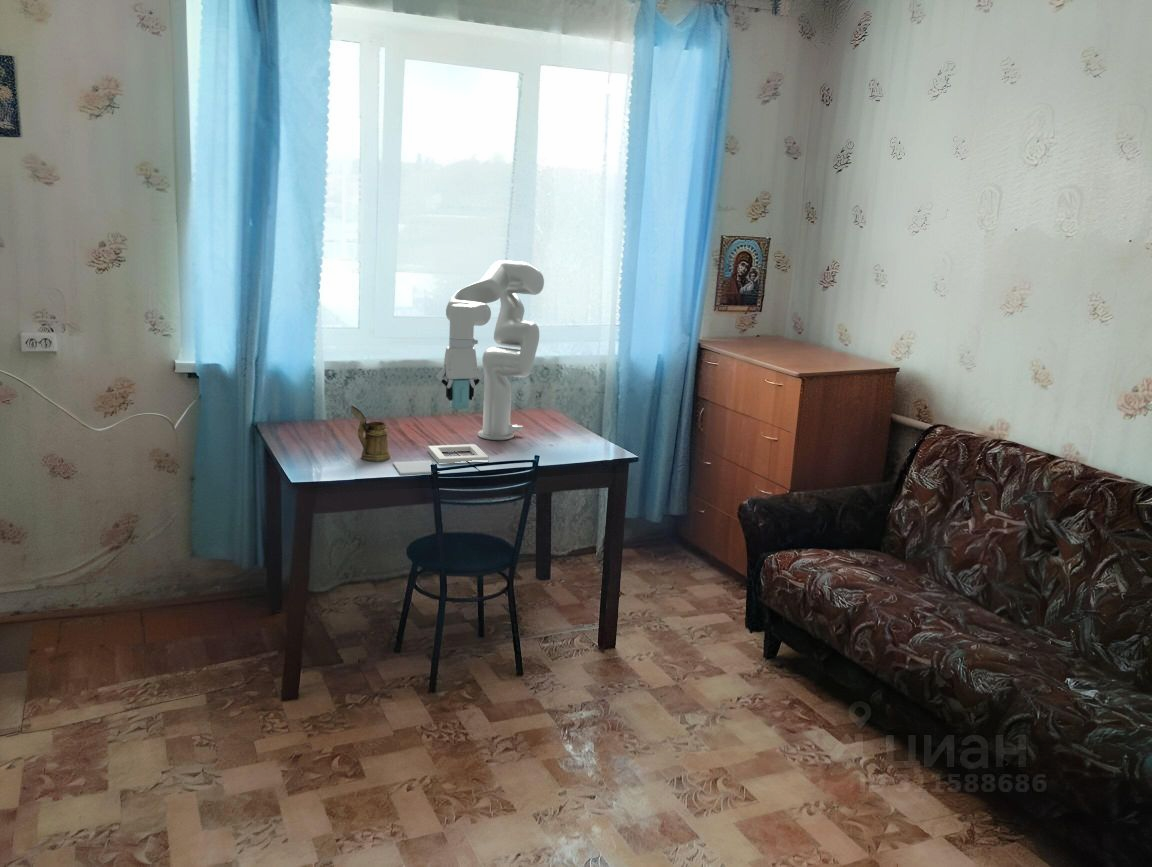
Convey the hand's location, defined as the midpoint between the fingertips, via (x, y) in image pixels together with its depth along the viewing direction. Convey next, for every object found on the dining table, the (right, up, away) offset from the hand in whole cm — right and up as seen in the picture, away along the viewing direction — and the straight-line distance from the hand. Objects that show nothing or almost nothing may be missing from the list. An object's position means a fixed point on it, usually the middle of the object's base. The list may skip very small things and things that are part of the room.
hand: (459, 398), depth 315 cm
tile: (-12, -22, -11) cm, 27 cm away
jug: (0, -3, +1) cm, 3 cm away
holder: (-1, -19, +4) cm, 19 cm away
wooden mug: (-28, -19, -4) cm, 34 cm away
